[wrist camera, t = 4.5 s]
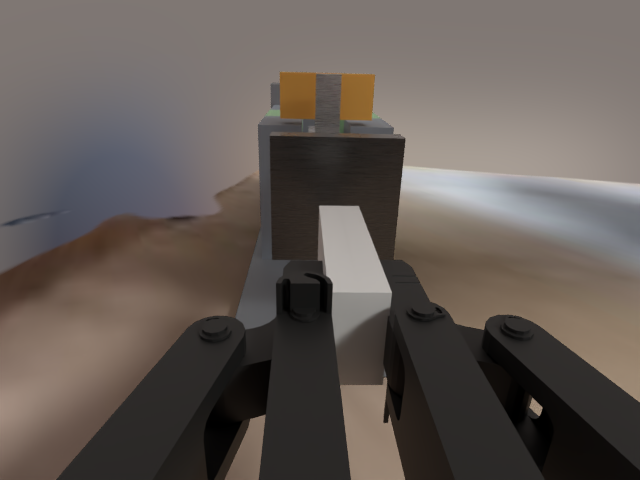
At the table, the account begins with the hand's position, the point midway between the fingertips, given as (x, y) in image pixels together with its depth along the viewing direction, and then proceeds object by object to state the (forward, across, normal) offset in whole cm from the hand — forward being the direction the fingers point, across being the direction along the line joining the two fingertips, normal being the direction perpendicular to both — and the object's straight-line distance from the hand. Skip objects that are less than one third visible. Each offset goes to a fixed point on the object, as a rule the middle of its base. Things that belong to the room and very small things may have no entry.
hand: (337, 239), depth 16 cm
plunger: (+13, 0, -3) cm, 13 cm away
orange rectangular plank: (+16, 0, +3) cm, 17 cm away
